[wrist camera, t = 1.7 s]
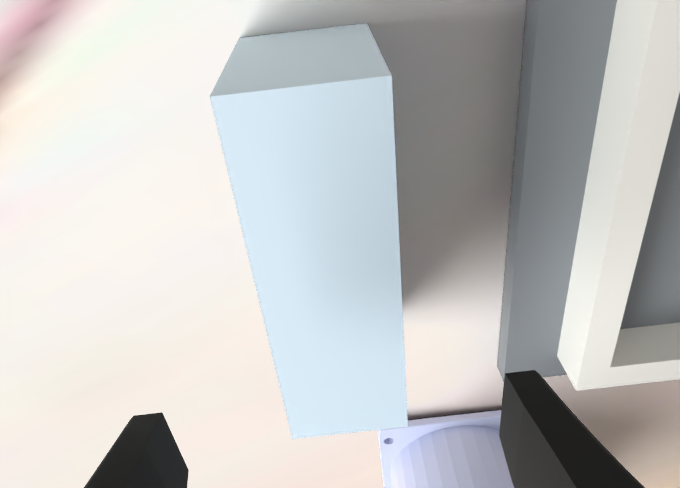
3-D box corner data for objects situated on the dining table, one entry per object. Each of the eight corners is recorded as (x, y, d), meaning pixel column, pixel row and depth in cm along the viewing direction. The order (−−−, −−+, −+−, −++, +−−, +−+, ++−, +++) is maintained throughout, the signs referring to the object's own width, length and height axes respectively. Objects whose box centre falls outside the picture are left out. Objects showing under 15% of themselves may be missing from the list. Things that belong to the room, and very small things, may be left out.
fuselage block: (386, 311, 23) (408, 426, 18) (295, 321, 23) (292, 438, 18) (366, 21, 16) (391, 75, 11) (239, 36, 16) (209, 96, 11)
